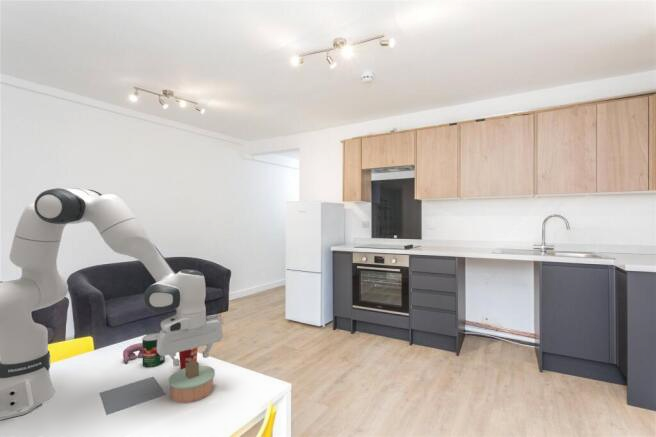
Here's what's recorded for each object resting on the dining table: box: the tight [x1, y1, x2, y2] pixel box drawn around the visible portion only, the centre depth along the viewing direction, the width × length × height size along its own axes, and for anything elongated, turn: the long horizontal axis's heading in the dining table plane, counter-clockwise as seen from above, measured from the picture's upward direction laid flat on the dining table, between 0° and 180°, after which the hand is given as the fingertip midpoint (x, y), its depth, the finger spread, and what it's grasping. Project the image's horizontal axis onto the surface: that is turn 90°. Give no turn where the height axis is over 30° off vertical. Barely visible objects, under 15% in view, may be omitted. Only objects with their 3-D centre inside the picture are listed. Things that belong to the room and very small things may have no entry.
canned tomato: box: [141, 332, 166, 369], centre depth 127 cm, size 8×8×11 cm
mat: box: [99, 376, 167, 416], centre depth 105 cm, size 16×16×1 cm
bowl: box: [170, 378, 214, 404], centre depth 106 cm, size 12×12×5 cm
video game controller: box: [122, 342, 143, 365], centre depth 133 cm, size 10×5×7 cm, turn 131°
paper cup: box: [178, 347, 198, 370], centre depth 123 cm, size 8×8×14 cm
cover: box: [168, 360, 216, 389], centre depth 106 cm, size 14×14×5 cm
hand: (191, 361), depth 106 cm, fingers open, 8 cm apart
